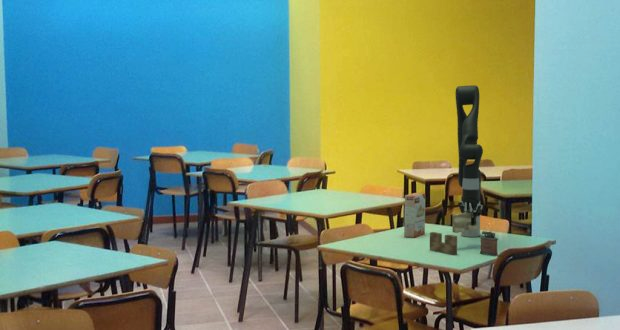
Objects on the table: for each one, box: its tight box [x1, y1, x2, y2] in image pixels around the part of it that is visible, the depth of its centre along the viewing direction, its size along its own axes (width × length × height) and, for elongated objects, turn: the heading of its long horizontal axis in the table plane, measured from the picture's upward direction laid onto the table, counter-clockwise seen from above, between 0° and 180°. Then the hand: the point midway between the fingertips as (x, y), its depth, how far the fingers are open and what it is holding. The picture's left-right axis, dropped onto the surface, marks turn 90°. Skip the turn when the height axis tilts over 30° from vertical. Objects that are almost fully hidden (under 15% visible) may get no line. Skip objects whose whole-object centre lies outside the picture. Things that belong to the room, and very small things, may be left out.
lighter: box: [479, 230, 499, 257], centre depth 329 cm, size 8×3×10 cm, turn 48°
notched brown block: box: [429, 231, 458, 256], centre depth 335 cm, size 14×2×8 cm, turn 38°
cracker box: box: [403, 192, 426, 239], centre depth 377 cm, size 14×6×21 cm, turn 150°
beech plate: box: [452, 212, 477, 234], centre depth 346 cm, size 2×14×8 cm, turn 128°
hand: (470, 224), depth 349 cm, fingers closed on beech plate, 2 cm apart
